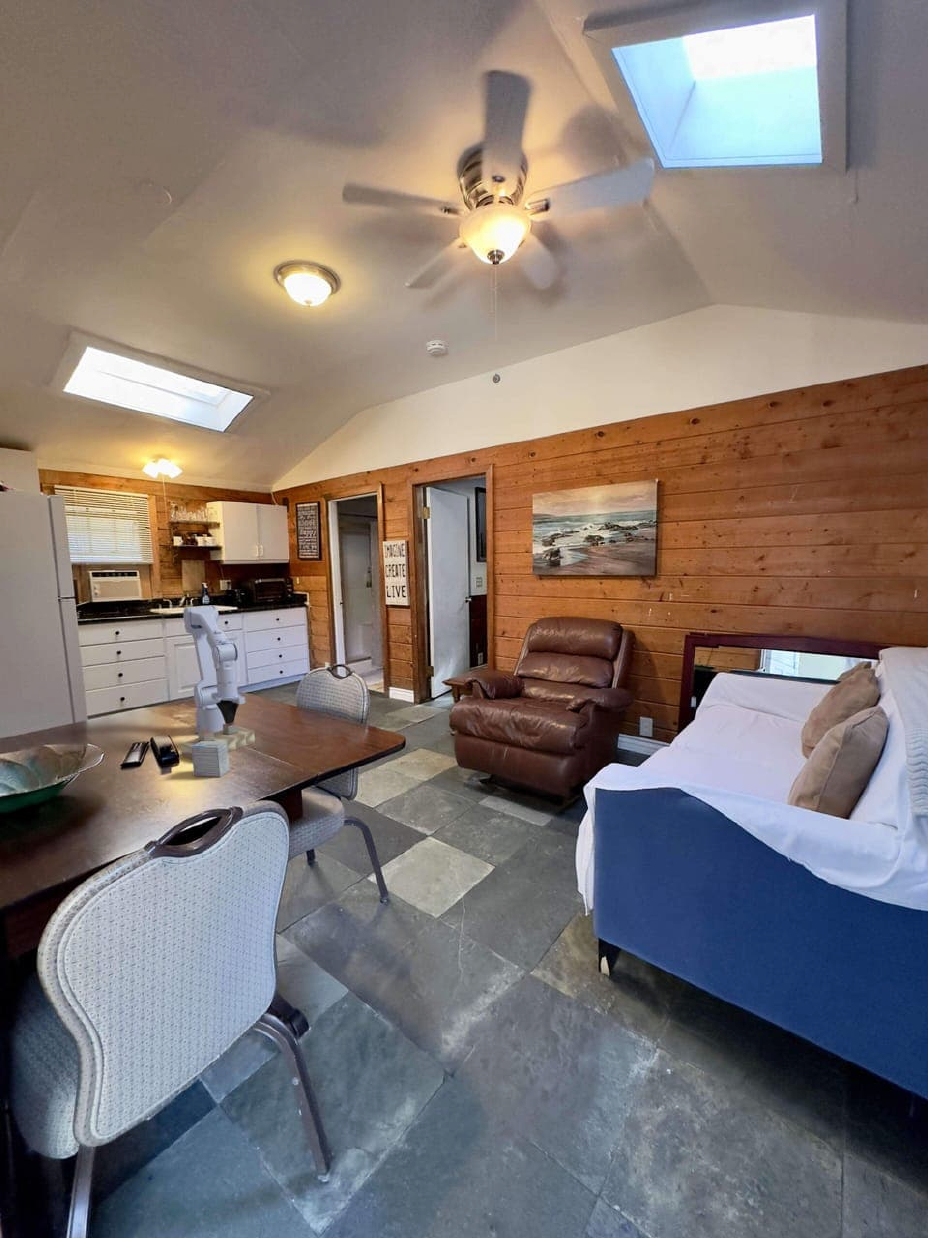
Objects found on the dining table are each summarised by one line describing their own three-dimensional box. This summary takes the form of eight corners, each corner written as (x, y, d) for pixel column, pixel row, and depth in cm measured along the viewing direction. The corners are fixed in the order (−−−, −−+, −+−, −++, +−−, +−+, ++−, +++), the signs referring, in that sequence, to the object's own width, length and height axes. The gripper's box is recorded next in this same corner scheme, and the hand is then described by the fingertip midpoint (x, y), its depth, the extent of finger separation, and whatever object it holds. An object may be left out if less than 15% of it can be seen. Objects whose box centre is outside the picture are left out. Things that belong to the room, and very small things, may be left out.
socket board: (201, 762, 140) (200, 749, 140) (181, 756, 145) (180, 743, 145) (254, 742, 156) (254, 730, 155) (235, 737, 161) (234, 725, 160)
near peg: (204, 746, 145) (203, 733, 144) (199, 744, 146) (198, 732, 146) (214, 743, 147) (213, 730, 147) (208, 741, 149) (207, 729, 148)
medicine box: (230, 770, 135) (227, 741, 134) (220, 777, 130) (218, 747, 129) (203, 769, 135) (201, 740, 134) (193, 776, 131) (191, 746, 130)
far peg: (229, 738, 152) (228, 726, 151) (223, 736, 153) (222, 724, 153) (237, 735, 154) (236, 723, 154) (232, 733, 156) (231, 721, 155)
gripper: (201, 681, 152) (204, 723, 153) (229, 687, 145) (232, 730, 146) (221, 677, 158) (224, 716, 159) (249, 682, 151) (252, 723, 152)
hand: (229, 723), depth 153 cm, fingers closed
